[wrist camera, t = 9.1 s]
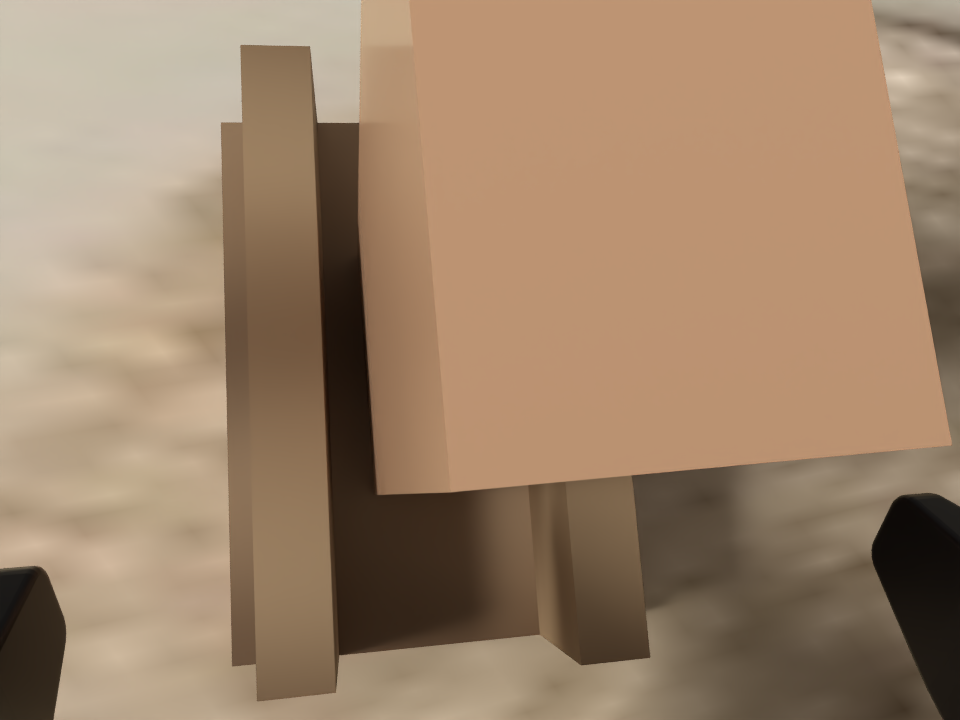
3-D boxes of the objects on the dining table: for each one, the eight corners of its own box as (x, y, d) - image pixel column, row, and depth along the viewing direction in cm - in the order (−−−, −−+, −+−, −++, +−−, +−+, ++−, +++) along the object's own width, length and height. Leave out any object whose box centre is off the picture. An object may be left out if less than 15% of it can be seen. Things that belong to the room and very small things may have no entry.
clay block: (490, 483, 16) (953, 446, 4) (374, 494, 16) (449, 492, 3) (469, 250, 17) (792, -432, 5) (357, 255, 17) (368, -476, 4)
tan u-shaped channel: (618, 617, 17) (695, 652, 13) (239, 656, 16) (202, 706, 12) (573, 143, 19) (630, 52, 15) (228, 142, 18) (193, 43, 14)
